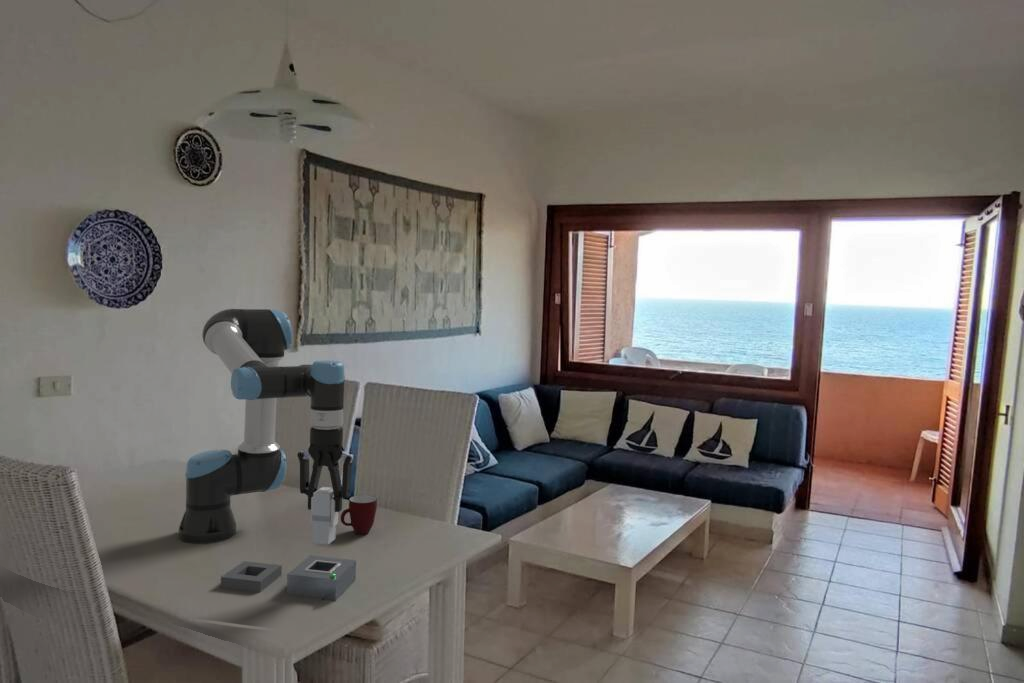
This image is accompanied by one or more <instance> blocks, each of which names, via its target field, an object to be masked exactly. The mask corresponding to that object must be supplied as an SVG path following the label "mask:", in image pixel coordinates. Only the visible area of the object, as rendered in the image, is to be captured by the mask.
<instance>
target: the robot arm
mask: <svg viewBox="0 0 1024 683" xmlns="http://www.w3.org/2000/svg"><path fill="white" fill-rule="evenodd" d="M293 334H294V333H293V327H292V323H291V321H290V319H289V316H288V315H287V313H285V312H284V311H282V310H278V309H267V308H265V309H264V308H263V309H262V308H257V309H256V308H254V309H253V308H252V309H251V308H227V309H223V310H220V311H218V312H216V313H215V314H213V315H212V316H210V317H209V319H207V321H206V323H205V324H204V326H203V329H202V334H201V336H202V341H203V343H204V345H205V346H206V349H208V350H209V352H211V353H212V354H214V355H217V356H218V357H219V359H220V360H221V362H222V363H223V364H224V365H225V368H227V369H228V371H229V372H230V374H231V377H230V388H231V391H232V395H233V397H234V398H235V399H237V400H241V401H242V400H245V408H244V430H243V431H244V432H243V442H241V443H240V444H239V445H238V447H237V453H236V454H232V451H230V450H229V449H213V450H207V451H203V452H199V453H197V454H194V455H193V456H191V457H190V458H189V459H188V461H187V463H186V470H185V481H186V482H185V511H184V513H183V516H182V518H181V521H180V524H179V526H178V533H177V535H178V539H179V540H181V541H183V542H186V543H191V544H207V543H215V542H219V541H223V540H227V539H229V538H231V537H234V535H236V533H237V522H236V519H235V516H234V513H233V510H232V507H231V497H232V496H236V495H237V496H239V495H246V494H253V493H259V492H262V493H265V492H268V491H273V490H276V489H278V488H279V487H280V486H281V485H282V484H283V483H284V480H285V477H286V473H287V461H286V460H287V456H286V454H285V452H284V451H283V450H282V449H281V446H280V444H278V443H277V442H276V421H277V420H276V419H277V400H278V399H280V398H283V399H284V398H303V397H308V398H309V397H310V421H309V422H310V426H311V428H310V430H309V443H310V444H309V447H308V449H306V450H301V451H299V452H298V453H297V458H298V460H299V492H300V494H301V495H302V494H304V495H306V497H307V509H308V510H309V511H310V525H311V526H313V521H312V515H313V493H314V492H315V491H317V490H318V487H319V482H320V478H321V473H322V470H323V467H327V470H328V471H329V475H330V480H331V486H332V487H331V488H332V489H333V493H334V498H332V499H331V521H330V527H334V526H335V525H336V526H337V525H338V524H339V512H341V511H342V509H343V498H345V497H347V496H349V495H350V494H351V485H352V471H353V470H352V466H353V465H352V464H353V462H354V459H355V454H354V453H351V454H350V453H348V452H347V451H345V449H344V446H343V443H344V442H343V440H344V428H343V427H342V426H343V425H344V404H345V403H344V401H345V399H344V398H345V380H346V375H345V365H344V363H343V362H342V361H338V360H315V361H314V362H313V363H312V364H299V365H294V366H291V365H290V366H279V363H280V361H281V360H282V359H283V358H285V351H288V350H289V349H291V348H292V344H293V339H294V337H293ZM310 457H311V458H312V460H313V462H312V472H311V476H310ZM341 458H342V480H341V475H340V469H339V467H340V463H339V460H340V459H341Z"/></svg>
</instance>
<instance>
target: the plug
mask: <svg viewBox="0 0 1024 683" xmlns="http://www.w3.org/2000/svg"><path fill="white" fill-rule="evenodd" d="M332 498H334V493H333V487H327V486H322V487H320V488H317V491H315V492H314V493H313V515H312V521H313V525H312V535H311V536H312V538H311V540H312V542H311V543H312V544H321V545H330V544H332V542H333V541H334V540H336V531H337V530H336V528H337V524H336V525H335V526H334V527H330V521H331V499H332Z"/></svg>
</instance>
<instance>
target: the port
mask: <svg viewBox="0 0 1024 683" xmlns="http://www.w3.org/2000/svg"><path fill="white" fill-rule="evenodd" d="M356 572H357V560H356V559H355V560H354V559H346V558H337V557H330V556H329V557H328V556H319V555H317V556H316V555H308V556H307V557H306V558H305V559H304V560H303V561H301V562H300V563H299V564H298V565H296V567H294V568H293V569H292V570H290V571H289V572H288V573H286V594H289V595H290V594H291V595H299V596H306V597H314V598H321V600H324V601H331V602H332V601H333V602H336V601H338V599H339V598H340V597H341V596H342V595H344V594H345V592H346V591H347V590H348V589H349V587H351V585H353V583H355V581H356V575H357V574H356Z"/></svg>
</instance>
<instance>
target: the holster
mask: <svg viewBox="0 0 1024 683" xmlns="http://www.w3.org/2000/svg"><path fill="white" fill-rule="evenodd" d="M282 567H283V565H282V564H273V563H265V562H255V561H254V562H253V561H247V560H244V561H241V563H239V564H238V565H236V566H235V567H233V568H232V569H230V570H229V571H227V572H226V573H224V574H223V575H222V576H220V588H221V589H222V588H223V589H231V590H238V591H247V592H248V591H249V592H253V593H261V592H263V591H264V590H265V589H267V588H268V587H269V586H270V585H271V584H273V582H275V581H276V580H277V579H279V578H280V577H282V572H283V571H282V570H283V569H282Z"/></svg>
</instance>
